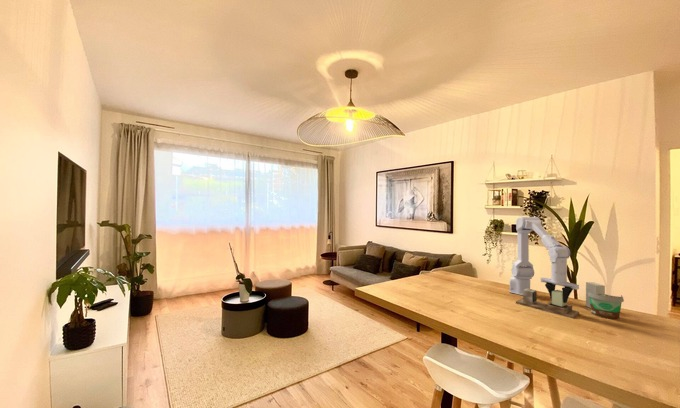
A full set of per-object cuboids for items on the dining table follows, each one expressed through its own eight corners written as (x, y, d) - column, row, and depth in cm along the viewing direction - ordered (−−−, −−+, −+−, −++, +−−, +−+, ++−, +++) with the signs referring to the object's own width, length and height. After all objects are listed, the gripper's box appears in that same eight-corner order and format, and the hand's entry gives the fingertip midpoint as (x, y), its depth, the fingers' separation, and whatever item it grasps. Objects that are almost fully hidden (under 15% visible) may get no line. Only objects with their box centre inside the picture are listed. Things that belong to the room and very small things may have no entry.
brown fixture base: (515, 303, 141) (515, 289, 141) (523, 299, 146) (523, 286, 146) (573, 318, 122) (573, 302, 122) (579, 313, 128) (579, 298, 128)
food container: (591, 316, 124) (591, 294, 124) (587, 312, 130) (587, 290, 130) (629, 322, 118) (629, 299, 119) (622, 317, 124) (623, 295, 124)
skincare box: (605, 310, 132) (605, 285, 132) (596, 310, 132) (596, 285, 132) (593, 306, 138) (594, 282, 138) (585, 306, 138) (585, 282, 138)
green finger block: (550, 303, 131) (550, 290, 131) (555, 301, 133) (556, 289, 133) (561, 306, 127) (561, 293, 127) (566, 304, 130) (567, 292, 130)
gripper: (582, 274, 126) (581, 304, 126) (545, 268, 139) (545, 295, 138) (574, 276, 123) (574, 306, 122) (538, 269, 135) (538, 297, 135)
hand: (558, 300), depth 130 cm, fingers closed on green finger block, 4 cm apart
